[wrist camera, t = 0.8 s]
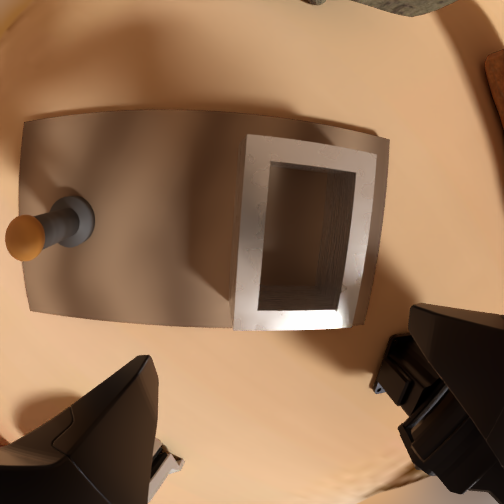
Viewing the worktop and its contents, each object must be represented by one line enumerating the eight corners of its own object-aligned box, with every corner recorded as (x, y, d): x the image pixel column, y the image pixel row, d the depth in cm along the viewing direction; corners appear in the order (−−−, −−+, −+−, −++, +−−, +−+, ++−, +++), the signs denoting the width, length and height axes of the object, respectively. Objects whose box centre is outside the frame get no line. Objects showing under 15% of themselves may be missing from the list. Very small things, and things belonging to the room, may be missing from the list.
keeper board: (382, 140, 19) (459, 130, 11) (358, 319, 22) (413, 374, 14) (31, 123, 15) (-40, 107, 7) (35, 305, 18) (-20, 356, 10)
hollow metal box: (345, 158, 18) (376, 154, 14) (327, 301, 20) (351, 327, 16) (239, 144, 17) (247, 134, 13) (228, 301, 19) (233, 330, 15)
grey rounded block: (93, 485, 24) (58, 525, 14) (70, 458, 25) (29, 495, 15) (188, 460, 24) (160, 522, 14) (160, 427, 24) (120, 484, 14)
